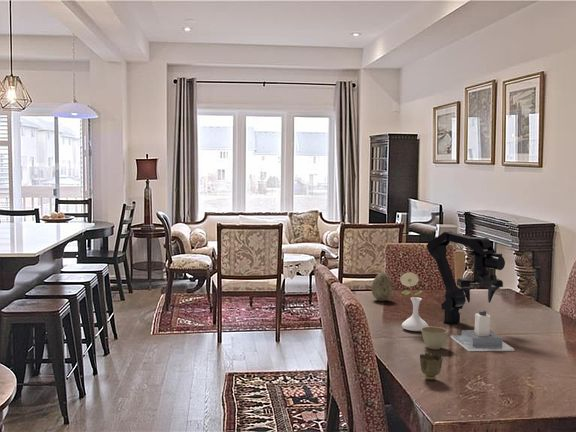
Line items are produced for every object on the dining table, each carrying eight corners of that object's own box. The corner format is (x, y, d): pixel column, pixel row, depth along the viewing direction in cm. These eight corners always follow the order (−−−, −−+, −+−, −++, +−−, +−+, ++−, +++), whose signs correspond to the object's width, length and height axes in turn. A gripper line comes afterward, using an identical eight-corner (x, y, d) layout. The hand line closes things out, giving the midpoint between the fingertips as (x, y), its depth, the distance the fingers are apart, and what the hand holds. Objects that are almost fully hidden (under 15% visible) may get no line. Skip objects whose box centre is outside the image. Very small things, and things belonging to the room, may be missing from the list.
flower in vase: (431, 328, 275) (433, 271, 273) (425, 334, 265) (427, 275, 263) (401, 324, 281) (403, 269, 279) (394, 330, 270) (396, 273, 268)
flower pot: (448, 345, 249) (448, 327, 249) (445, 352, 240) (446, 334, 239) (422, 343, 252) (423, 325, 252) (419, 349, 243) (419, 331, 242)
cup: (416, 375, 213) (417, 352, 212) (437, 375, 213) (438, 352, 213) (422, 383, 205) (423, 359, 205) (444, 383, 206) (445, 359, 205)
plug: (473, 340, 255) (475, 309, 254) (484, 340, 255) (485, 309, 254) (478, 343, 250) (479, 312, 249) (489, 343, 251) (490, 312, 250)
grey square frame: (450, 337, 262) (451, 327, 262) (492, 336, 264) (493, 327, 263) (468, 351, 242) (469, 341, 242) (514, 350, 244) (514, 340, 243)
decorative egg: (393, 303, 325) (394, 274, 323) (372, 302, 325) (373, 274, 324) (390, 298, 335) (391, 270, 334) (370, 298, 335) (370, 270, 334)
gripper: (466, 269, 264) (465, 306, 265) (509, 269, 266) (507, 306, 267) (456, 265, 275) (455, 301, 276) (498, 265, 277) (496, 300, 278)
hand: (479, 302), depth 274 cm, fingers open, 9 cm apart
